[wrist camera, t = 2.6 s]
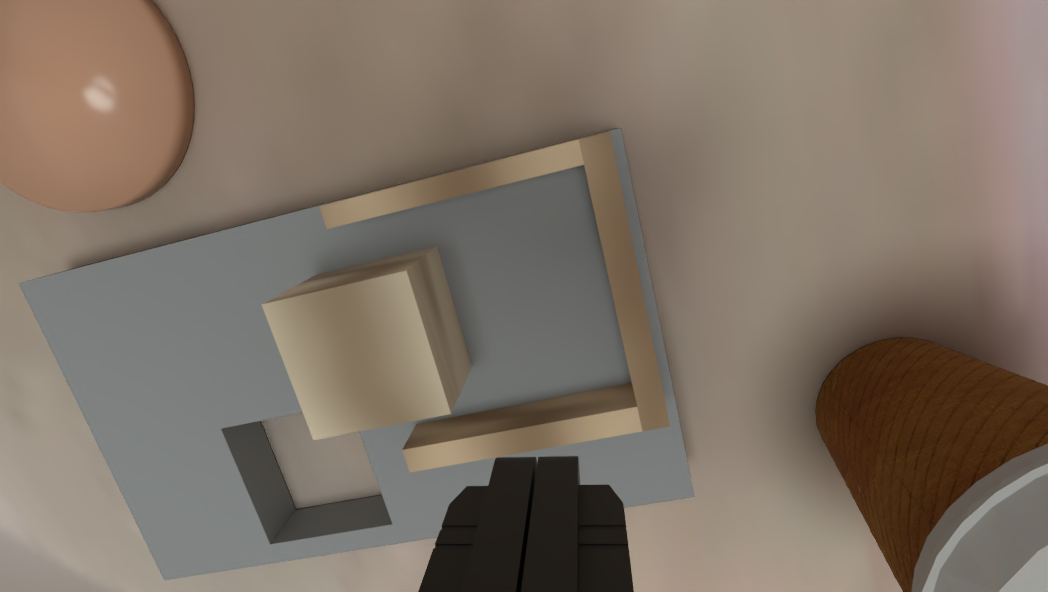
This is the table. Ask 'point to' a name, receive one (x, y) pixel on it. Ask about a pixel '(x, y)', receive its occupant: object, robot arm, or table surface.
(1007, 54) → the table surface
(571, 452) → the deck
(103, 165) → the saucer
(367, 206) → the frame
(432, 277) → the block
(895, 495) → the disposable coffee cup
